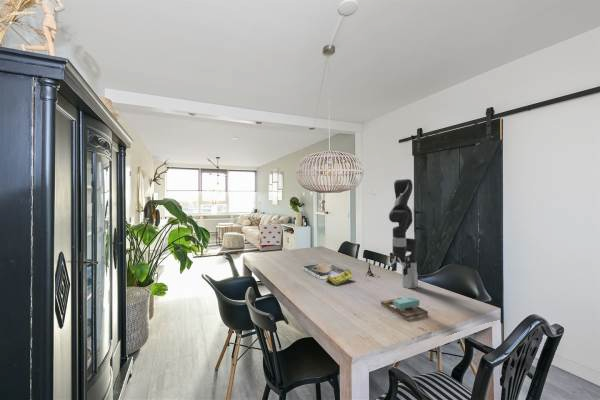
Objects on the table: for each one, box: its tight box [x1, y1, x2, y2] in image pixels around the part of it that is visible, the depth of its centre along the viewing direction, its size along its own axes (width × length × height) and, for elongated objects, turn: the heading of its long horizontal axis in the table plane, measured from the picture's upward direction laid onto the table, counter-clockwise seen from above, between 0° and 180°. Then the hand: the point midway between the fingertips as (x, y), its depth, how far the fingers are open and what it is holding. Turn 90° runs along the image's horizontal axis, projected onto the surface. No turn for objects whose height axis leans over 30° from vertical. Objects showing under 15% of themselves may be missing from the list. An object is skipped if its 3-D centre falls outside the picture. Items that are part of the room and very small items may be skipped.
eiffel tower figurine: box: [365, 259, 381, 278], centre depth 212 cm, size 15×10×13 cm
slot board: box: [380, 297, 429, 321], centre depth 146 cm, size 14×20×2 cm
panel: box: [393, 296, 420, 311], centre depth 144 cm, size 13×5×6 cm, turn 110°
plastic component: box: [325, 268, 354, 286], centre depth 199 cm, size 20×7×10 cm
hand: (399, 272), depth 154 cm, fingers open, 8 cm apart
